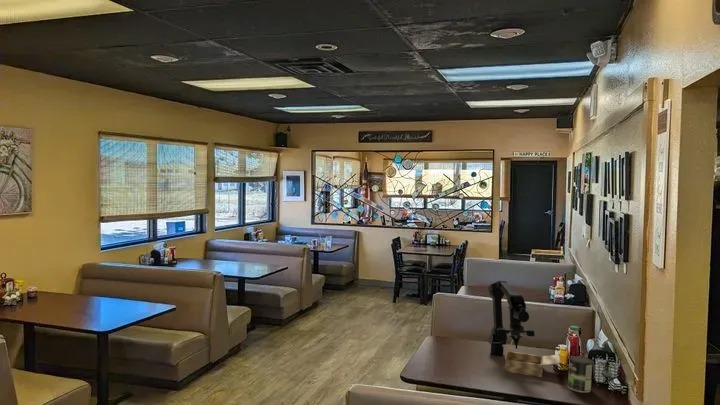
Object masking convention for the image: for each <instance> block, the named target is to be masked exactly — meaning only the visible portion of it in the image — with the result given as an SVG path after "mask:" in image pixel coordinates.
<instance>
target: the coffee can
mask: <svg viewBox="0 0 720 405" xmlns="http://www.w3.org/2000/svg"><path fill="white" fill-rule="evenodd" d="M593 362H594V361H593V359H591V358H588V357H585V356H571V357H569V364H568V365H569V366H568V376H567V378H568V379H567V388H568V389H569V390H570V391H573V392H577V393H582V394H583V393H585V394H586V393H590V392H591V391H592V388H591V387H592V373H593V372H592V371H593V364H594V363H593Z"/></svg>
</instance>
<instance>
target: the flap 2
mask: <svg viewBox="0 0 720 405" xmlns="http://www.w3.org/2000/svg"><path fill="white" fill-rule="evenodd" d="M542 356H543V366H550V365H551V366H552V365H560V362H561V361H560V354H551V355H542Z"/></svg>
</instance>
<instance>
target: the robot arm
mask: <svg viewBox="0 0 720 405" xmlns="http://www.w3.org/2000/svg"><path fill="white" fill-rule="evenodd" d="M488 293H489V297H490V298H491V299H492V309H493V310H492V314H493V327H492V329H491V332H490V335H489V337H488V338H487V340H488V343H489V344H490V353H489V355H490V356H493V357H503V355H504V352H505V346H506V344H507V340H508V335H509V338H511V339H512V340H513V344H514V346H515V349H517V350H518V344H519V342H520V340H521V338H523V335H526V336H528V337H535V336H536V335H535V332H536V331H535V329H534V328H526V330H525V327H524V325H522V323H526V322H528V321H529V319H530V315H529V313H528V311H526V310H527V305H526V302H525V298H524V297H523V295H522V294H521V293H519V292H516V291H515V290H514V289H513V288H512V287H511V286H510V285H509V284H508V281H506V280H497V281H496V282H493V283H491V284H490V285H489V286H488ZM504 296H506V302H507V304H508V310H509V329H506V327H504V326H503V325H504V324H503V306H502V305H503V304H502V302H503V301H502V300H503V298H504ZM504 345H505V346H504Z"/></svg>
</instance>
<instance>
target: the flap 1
mask: <svg viewBox="0 0 720 405" xmlns="http://www.w3.org/2000/svg"><path fill="white" fill-rule="evenodd" d="M513 344H514V341H513V339H512V340H511V342H510V344H509V346H508V348H507V350H506V354H505V357H504V360H506V357H507V355H508V353H509V351H510V352H511V349H512V346H513Z"/></svg>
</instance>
